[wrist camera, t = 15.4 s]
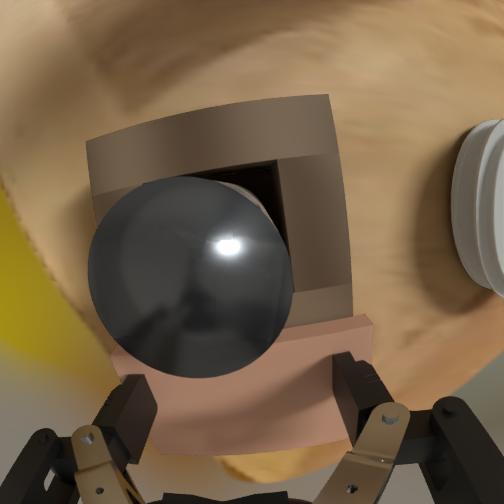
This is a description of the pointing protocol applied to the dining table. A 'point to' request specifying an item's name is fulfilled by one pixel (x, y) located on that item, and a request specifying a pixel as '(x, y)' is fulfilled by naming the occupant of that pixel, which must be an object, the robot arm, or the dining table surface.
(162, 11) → the dining table surface
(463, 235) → the lid
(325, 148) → the socket block
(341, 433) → the pink flat board
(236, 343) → the pin
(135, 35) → the dining table surface
